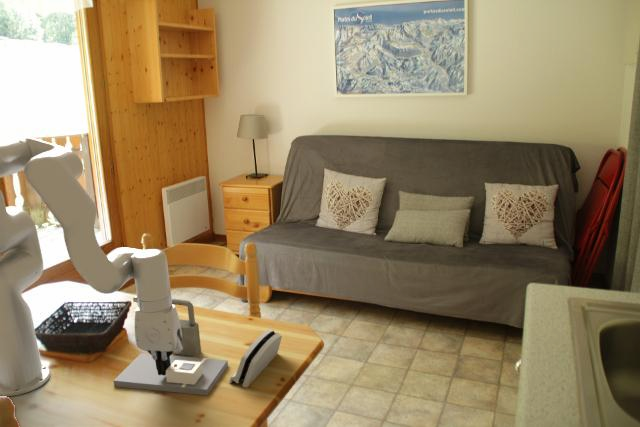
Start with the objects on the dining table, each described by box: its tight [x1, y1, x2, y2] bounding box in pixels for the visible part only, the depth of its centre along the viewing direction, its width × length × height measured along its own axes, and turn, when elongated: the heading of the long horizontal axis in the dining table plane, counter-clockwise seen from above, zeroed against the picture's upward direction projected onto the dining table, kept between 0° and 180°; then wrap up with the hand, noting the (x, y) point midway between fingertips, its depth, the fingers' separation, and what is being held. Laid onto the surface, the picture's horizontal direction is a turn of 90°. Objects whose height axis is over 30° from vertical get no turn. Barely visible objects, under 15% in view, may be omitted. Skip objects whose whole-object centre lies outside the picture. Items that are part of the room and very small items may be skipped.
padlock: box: [172, 298, 202, 357], centre depth 146 cm, size 4×8×15 cm, turn 71°
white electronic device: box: [166, 360, 203, 385], centre depth 132 cm, size 7×5×3 cm
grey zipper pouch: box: [228, 329, 283, 388], centre depth 137 cm, size 17×5×10 cm, turn 158°
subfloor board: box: [113, 352, 229, 396], centre depth 136 cm, size 24×13×2 cm, turn 78°
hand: (164, 372), depth 133 cm, fingers closed
